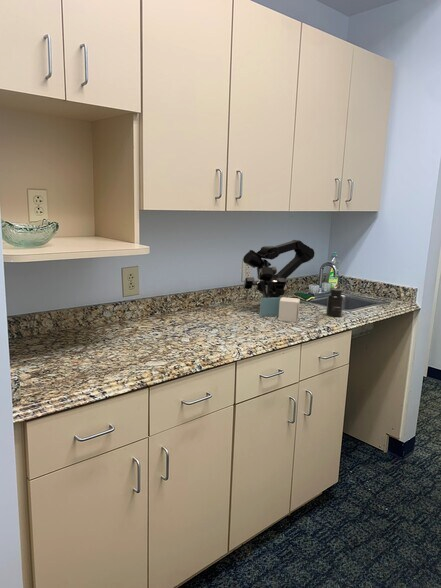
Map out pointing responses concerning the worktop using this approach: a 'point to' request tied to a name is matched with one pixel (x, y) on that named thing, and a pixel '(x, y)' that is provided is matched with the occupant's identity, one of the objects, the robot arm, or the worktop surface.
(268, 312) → the flap
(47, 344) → the worktop surface
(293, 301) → the carton
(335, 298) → the supplement bottle
